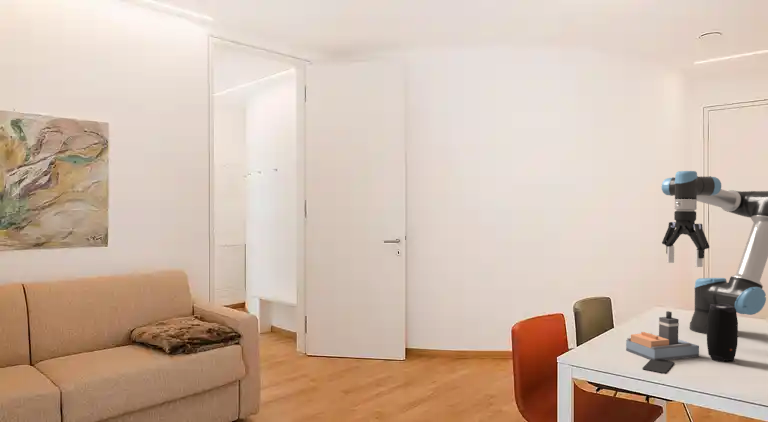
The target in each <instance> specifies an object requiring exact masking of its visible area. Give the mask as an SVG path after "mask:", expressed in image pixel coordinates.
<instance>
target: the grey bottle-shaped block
mask: <svg viewBox="0 0 768 422" xmlns="http://www.w3.org/2000/svg"><path fill="white" fill-rule="evenodd" d="M672 315H673V314H672V311H668V310H667V311H666V312H665V316H662V317H658V319H659V320H658V336H659V337H662V338H665V339H669V345H675V344H678V339H679V326H680V324H679V320H680V319H679V318H676V317H672Z"/></svg>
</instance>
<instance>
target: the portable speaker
mask: <svg viewBox="0 0 768 422" xmlns="http://www.w3.org/2000/svg"><path fill="white" fill-rule="evenodd" d="M737 314H738V313H737V312H736V309H735V307H733V306H731V305H729V304H721V303H720V304H715V305H713V304H710V310H709V314H708V318H707V334H706V346H707V352H708V355H709V356H710V359H711V360H712V361H715V362H722V363H723V362H724V361H730V362H731V363H732V362H735V357H736V353H737V348H738V336H739V335H738V334H739V333H738V332H739V331H738V329H739V321H738V315H737Z"/></svg>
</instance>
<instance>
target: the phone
mask: <svg viewBox="0 0 768 422" xmlns="http://www.w3.org/2000/svg"><path fill="white" fill-rule="evenodd" d="M673 366H675V362H674V361H672V360H661V359H659V360H653V359H651V360H650V359H649V360H648V362H647V363H646V364H645V365H644V366H643V367H642V370H643V371H647V372H652V373H656V374H662V375H664V374H667V373H668V372H669V371H670V369H672V367H673Z"/></svg>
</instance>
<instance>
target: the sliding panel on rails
mask: <svg viewBox="0 0 768 422" xmlns="http://www.w3.org/2000/svg"><path fill="white" fill-rule="evenodd" d="M625 342H626V343H625V344H626V345H625V351H627V352H629V353H632V354H633V355H637V356H639V357H642V358H645V359H647V360H649V361H650V360H651V359H653V360H659V359H661V360H667V361H672V360H680V359H689V358H699V357H700V356H699V355H700V345H699V344H695V343H692V342H688V341H685V340H683V339H679V338H678V344H675V345H665V346H654V347H651V348H649V347H646V346H643V345H640V344H638V343H635V342H632V341H631V337H627V338H626V341H625Z"/></svg>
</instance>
